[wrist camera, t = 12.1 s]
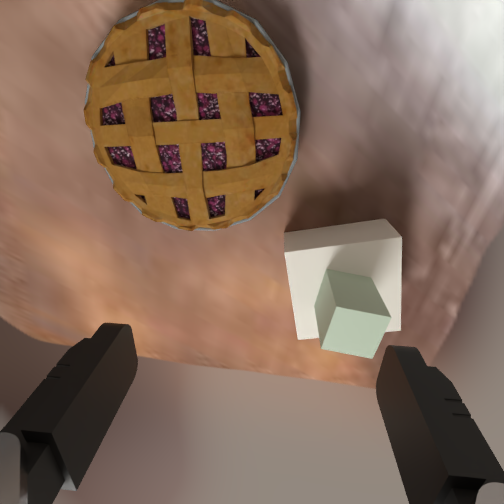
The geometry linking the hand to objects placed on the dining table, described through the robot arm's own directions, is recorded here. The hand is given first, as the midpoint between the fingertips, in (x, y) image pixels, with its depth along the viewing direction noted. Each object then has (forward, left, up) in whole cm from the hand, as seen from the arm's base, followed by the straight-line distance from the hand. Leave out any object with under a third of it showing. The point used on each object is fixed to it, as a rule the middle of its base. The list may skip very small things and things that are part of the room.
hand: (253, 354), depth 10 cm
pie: (-4, -8, -29) cm, 31 cm away
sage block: (+12, +9, -23) cm, 27 cm away
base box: (+12, +9, -29) cm, 33 cm away
